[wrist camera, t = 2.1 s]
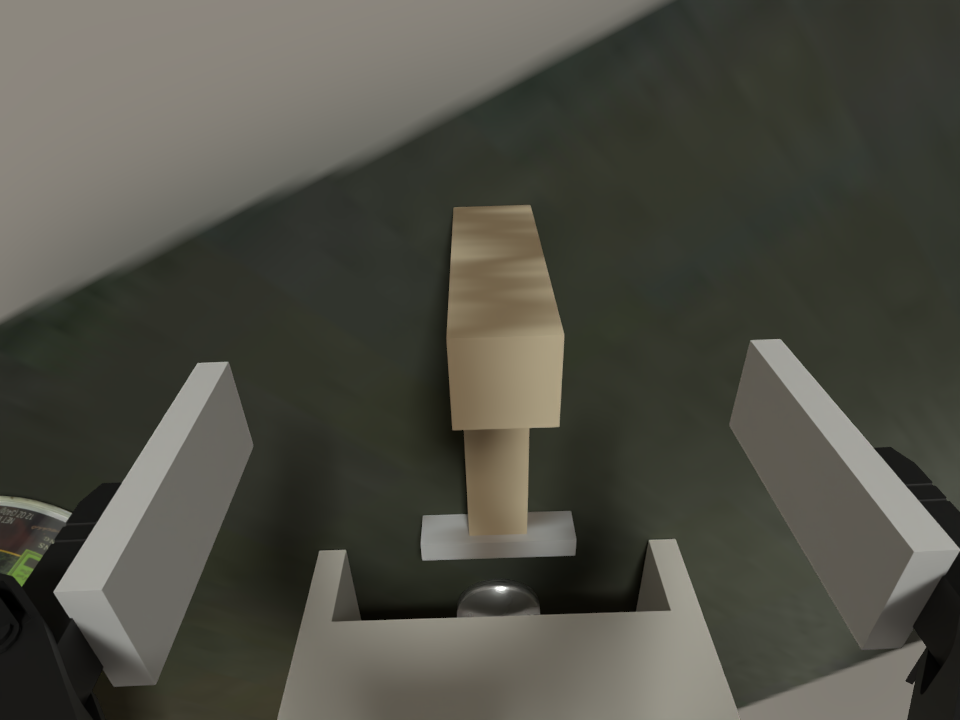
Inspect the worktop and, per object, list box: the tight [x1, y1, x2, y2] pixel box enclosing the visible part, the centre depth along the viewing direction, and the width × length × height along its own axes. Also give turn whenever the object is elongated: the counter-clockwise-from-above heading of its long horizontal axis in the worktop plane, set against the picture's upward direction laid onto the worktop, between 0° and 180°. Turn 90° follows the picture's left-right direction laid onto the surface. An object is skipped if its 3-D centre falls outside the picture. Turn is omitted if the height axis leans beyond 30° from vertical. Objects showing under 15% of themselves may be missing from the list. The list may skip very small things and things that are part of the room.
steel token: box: [457, 579, 540, 618], centre depth 37 cm, size 5×5×1 cm
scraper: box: [421, 205, 576, 560], centre depth 25 cm, size 8×18×10 cm, turn 2°
